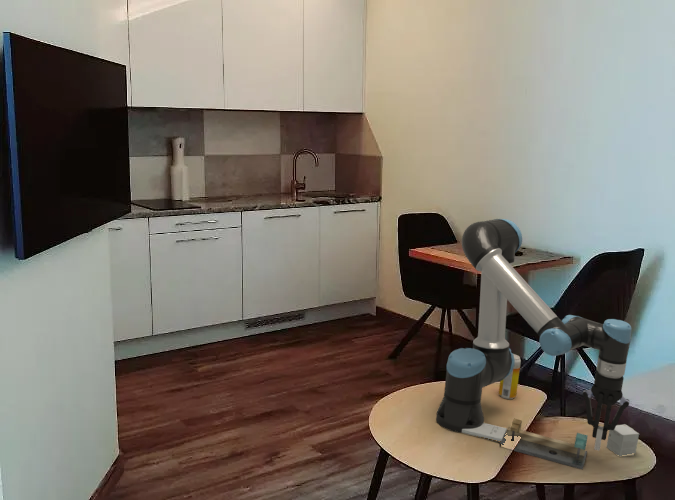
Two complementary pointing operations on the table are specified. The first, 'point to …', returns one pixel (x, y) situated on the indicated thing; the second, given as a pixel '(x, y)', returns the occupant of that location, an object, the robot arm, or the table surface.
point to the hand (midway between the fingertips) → (597, 448)
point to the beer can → (510, 381)
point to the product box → (622, 440)
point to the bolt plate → (549, 453)
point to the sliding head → (580, 442)
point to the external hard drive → (487, 431)
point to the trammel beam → (540, 438)
